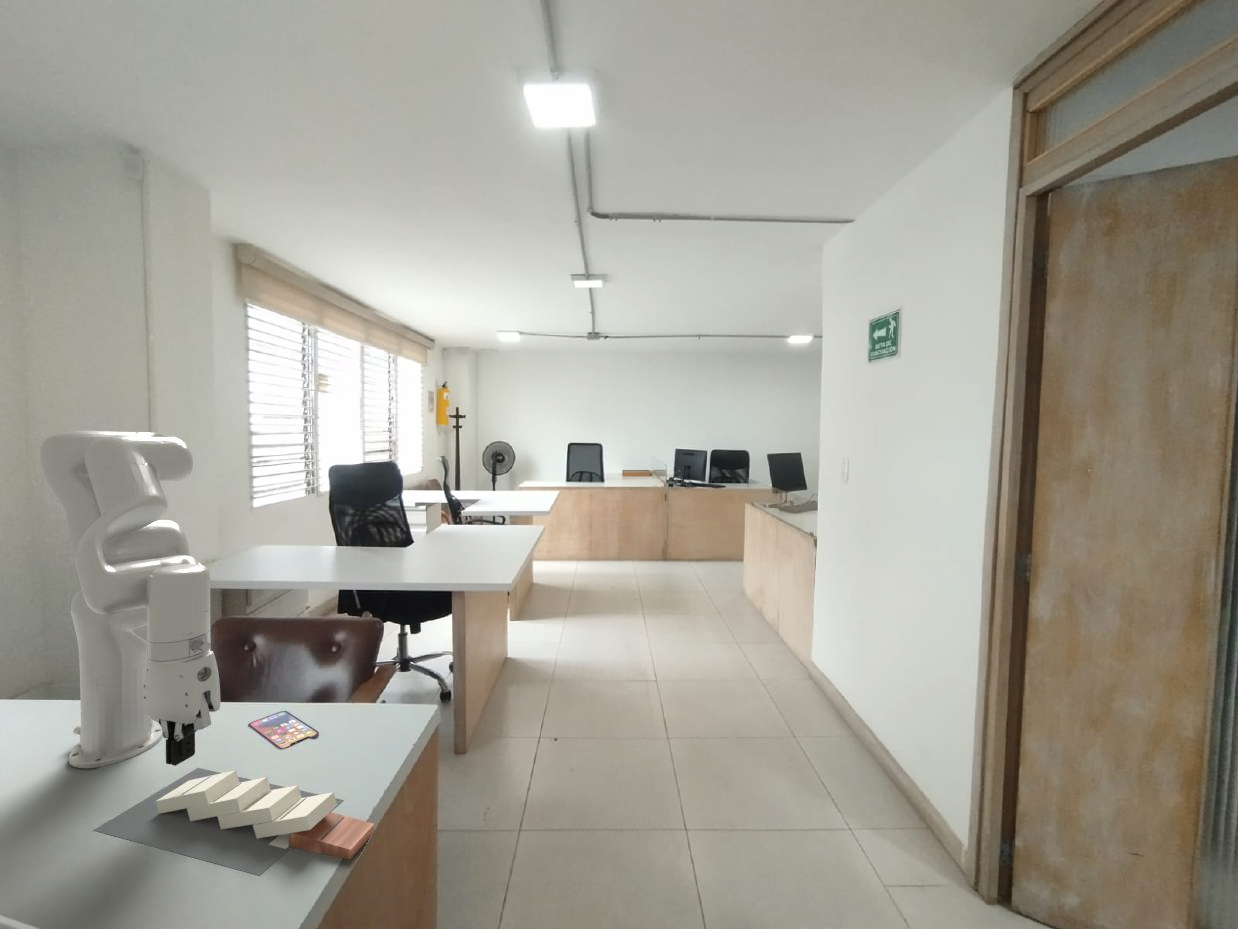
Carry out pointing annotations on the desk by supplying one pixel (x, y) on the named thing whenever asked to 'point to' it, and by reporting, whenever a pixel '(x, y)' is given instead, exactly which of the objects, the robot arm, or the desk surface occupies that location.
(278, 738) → the smartphone
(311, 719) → the desk surface
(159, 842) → the domino mat
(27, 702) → the desk surface
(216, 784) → the domino
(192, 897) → the desk surface
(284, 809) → the domino
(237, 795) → the domino
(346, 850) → the domino
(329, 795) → the domino
